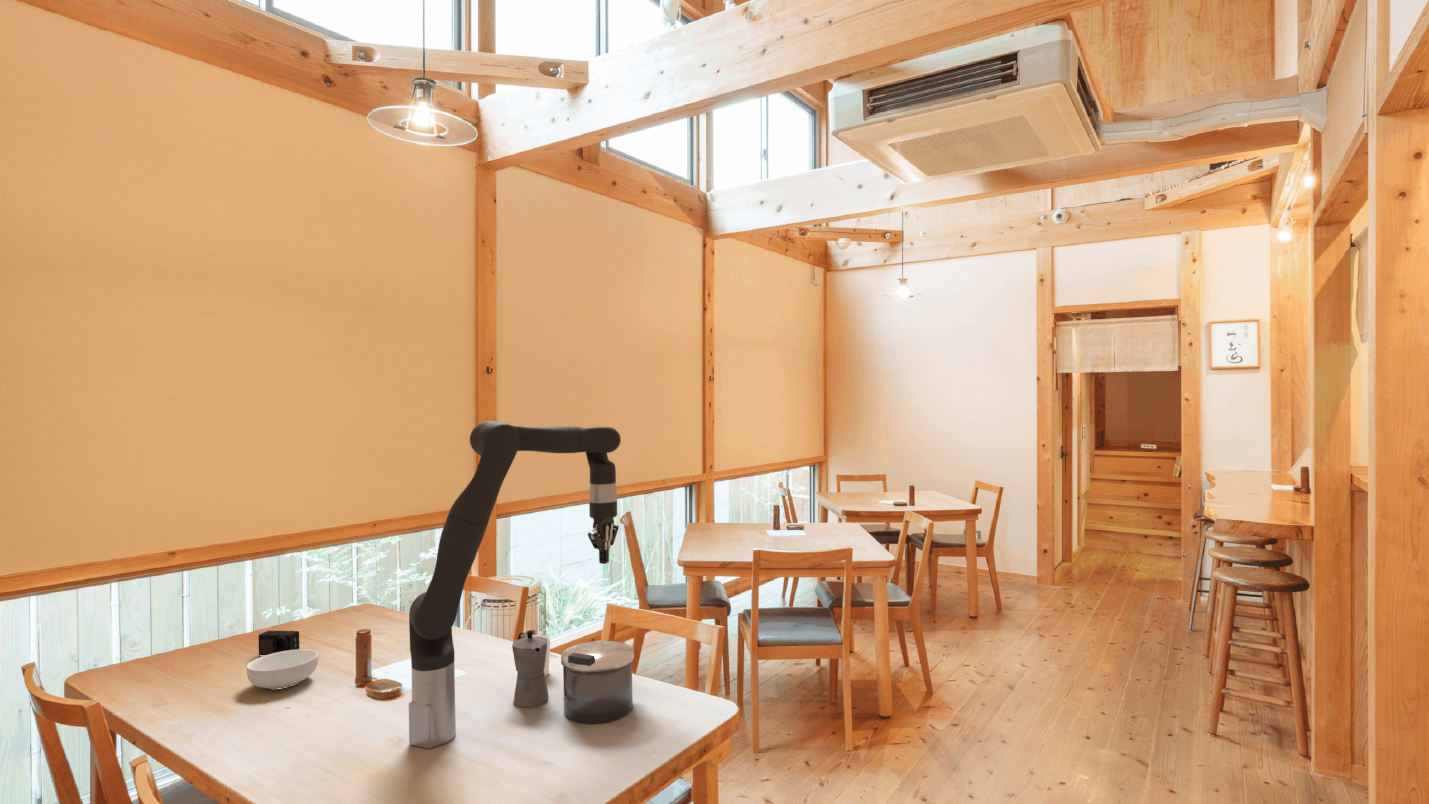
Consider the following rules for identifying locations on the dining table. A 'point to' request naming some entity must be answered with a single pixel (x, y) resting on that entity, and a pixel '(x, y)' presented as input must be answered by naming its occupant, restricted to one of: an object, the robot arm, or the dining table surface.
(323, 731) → the dining table surface
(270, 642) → the digital camera
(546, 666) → the white cup
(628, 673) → the pot
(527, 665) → the coffeepot
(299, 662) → the cereal bowl
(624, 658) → the lid
